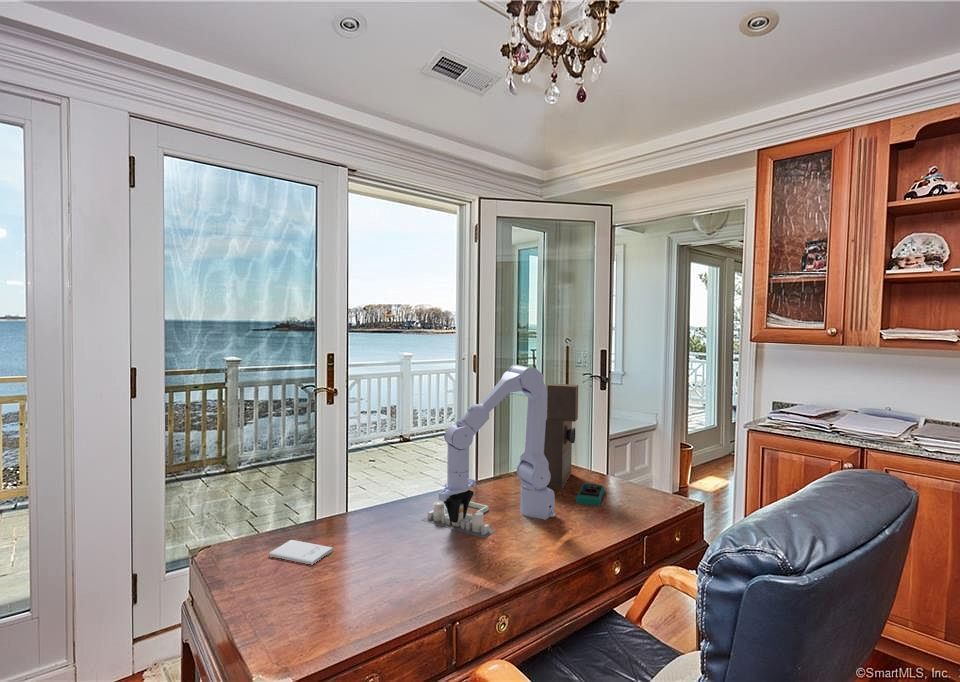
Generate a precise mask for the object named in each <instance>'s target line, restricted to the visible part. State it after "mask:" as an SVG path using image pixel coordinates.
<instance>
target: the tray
mask: <svg viewBox="0 0 960 682" xmlns="http://www.w3.org/2000/svg"><path fill="white" fill-rule="evenodd" d="M468 507H471V508H475V509H478V510H477V511H475V512H482V513H483V514H484V513H486V512H488V511H489V505H485V504H482V503H478V502H475V501H470V502H469V505H468ZM444 514H448V511H447V508H446V507H445V508H444ZM464 519H469V521H470V520H472V513H471V514H469V513H466V517H465V518H464Z"/></svg>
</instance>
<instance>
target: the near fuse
mask: <svg viewBox="0 0 960 682" xmlns="http://www.w3.org/2000/svg"><path fill="white" fill-rule="evenodd" d="M471 514H472V532H474V533H481V527H482V526H484V513H482V512H476V511H473V512H472V513H471Z"/></svg>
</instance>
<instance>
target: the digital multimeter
mask: <svg viewBox="0 0 960 682" xmlns="http://www.w3.org/2000/svg"><path fill="white" fill-rule="evenodd" d="M604 493H605V486H603V485H602V484H599V483H598V484H597V483H589V482H588V483H583V484H582V485H581V487H580V490H579V492H578V493H577V495H576V498H575V503H576V504H578V503H579V504H578V505H584V504H586V505H585V506H592V505H594V507H600V506H601V501H602V498H603V496H604Z"/></svg>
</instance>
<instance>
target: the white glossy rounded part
mask: <svg viewBox="0 0 960 682" xmlns="http://www.w3.org/2000/svg"><path fill="white" fill-rule="evenodd" d="M432 510H433V521H435V522H441V516H443V515H445V504H444V502H443V501H435V502H433V504H432Z"/></svg>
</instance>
